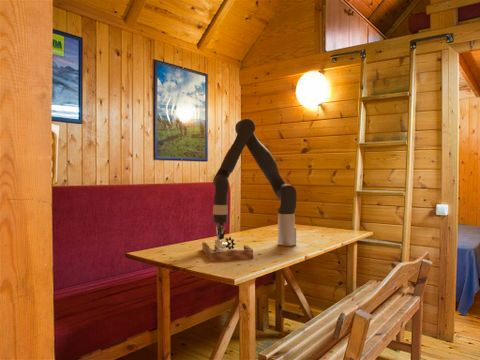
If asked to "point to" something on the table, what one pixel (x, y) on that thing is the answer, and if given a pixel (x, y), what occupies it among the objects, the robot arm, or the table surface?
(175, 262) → the table surface
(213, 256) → the rack
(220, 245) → the valve
